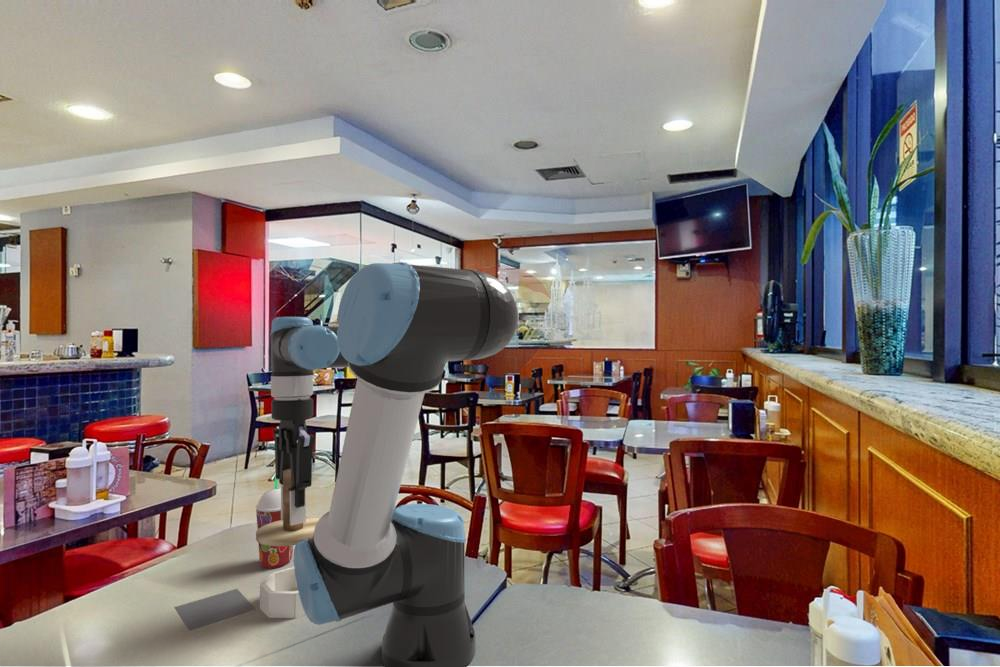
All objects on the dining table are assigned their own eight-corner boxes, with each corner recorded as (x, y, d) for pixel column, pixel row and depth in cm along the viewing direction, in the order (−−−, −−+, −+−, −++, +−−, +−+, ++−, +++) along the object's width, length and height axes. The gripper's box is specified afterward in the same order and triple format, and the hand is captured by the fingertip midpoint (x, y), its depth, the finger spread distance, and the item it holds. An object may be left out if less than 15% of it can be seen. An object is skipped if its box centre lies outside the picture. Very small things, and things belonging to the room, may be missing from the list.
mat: (255, 611, 102) (255, 608, 102) (189, 633, 94) (189, 630, 94) (237, 591, 110) (237, 588, 110) (174, 610, 102) (174, 607, 102)
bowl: (337, 606, 104) (337, 579, 104) (275, 628, 96) (275, 599, 96) (312, 585, 112) (312, 561, 112) (253, 604, 104) (253, 578, 104)
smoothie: (302, 558, 126) (302, 472, 126) (284, 574, 118) (284, 481, 118) (268, 557, 127) (268, 471, 127) (248, 572, 119) (248, 480, 119)
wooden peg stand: (341, 533, 103) (340, 470, 104) (271, 552, 95) (271, 482, 95) (311, 517, 113) (311, 459, 113) (245, 533, 104) (245, 470, 104)
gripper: (331, 399, 101) (331, 526, 100) (294, 393, 113) (294, 507, 112) (290, 402, 95) (291, 536, 95) (256, 396, 108) (257, 515, 107)
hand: (293, 520), depth 104 cm, fingers closed on wooden peg stand, 3 cm apart
